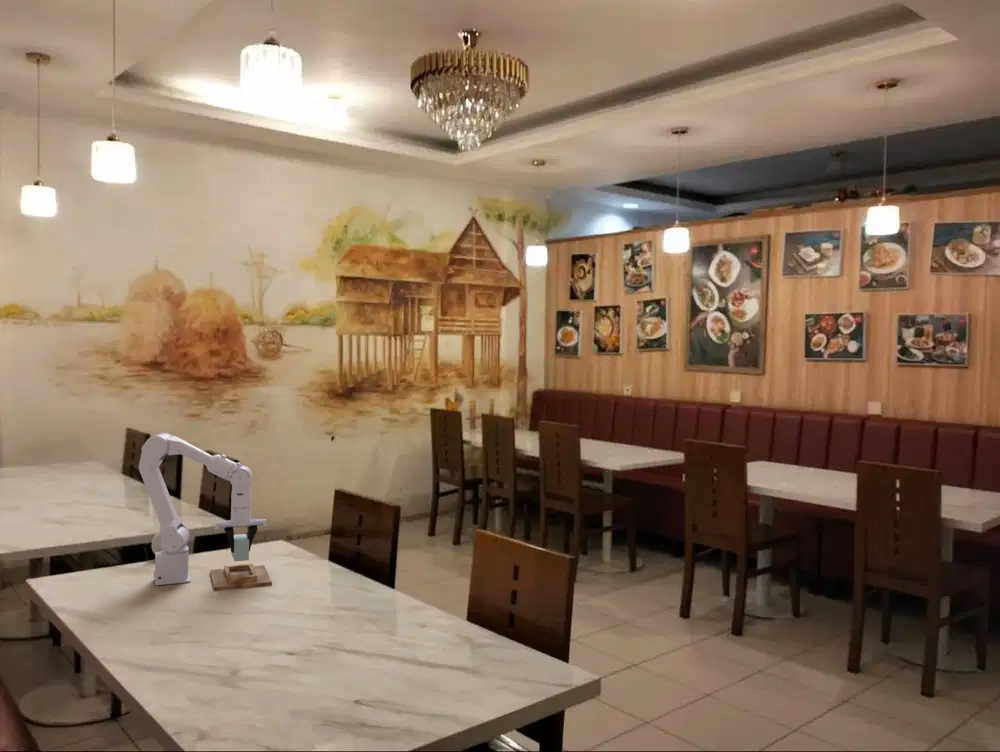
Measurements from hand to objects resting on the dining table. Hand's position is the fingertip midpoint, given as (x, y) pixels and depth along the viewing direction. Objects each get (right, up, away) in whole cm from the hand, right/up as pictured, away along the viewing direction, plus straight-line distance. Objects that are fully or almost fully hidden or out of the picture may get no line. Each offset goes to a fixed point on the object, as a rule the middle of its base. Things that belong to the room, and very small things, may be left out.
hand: (240, 551), depth 227 cm
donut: (-31, -7, +20) cm, 38 cm away
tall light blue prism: (0, -2, 0) cm, 2 cm away
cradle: (0, -8, 0) cm, 8 cm away
